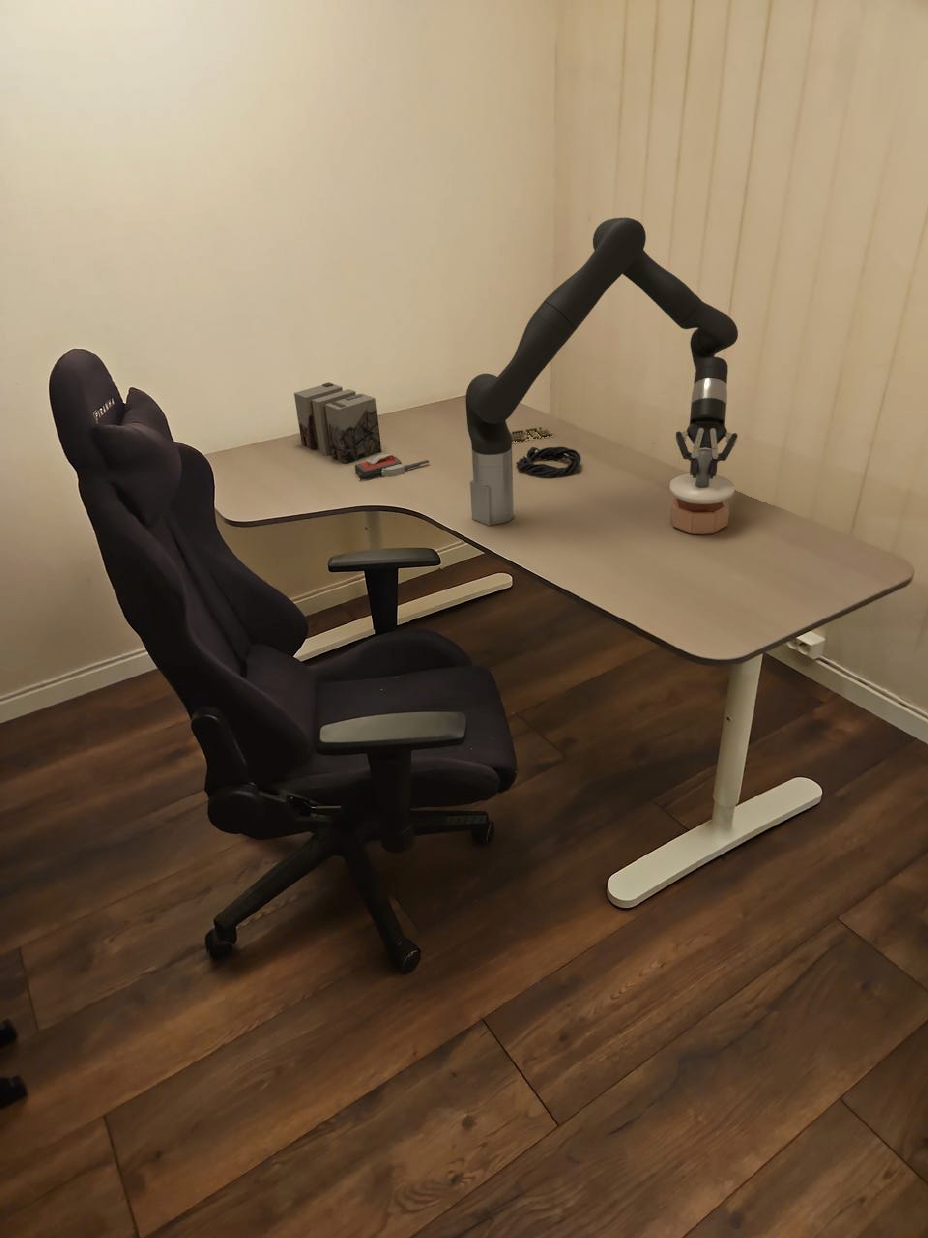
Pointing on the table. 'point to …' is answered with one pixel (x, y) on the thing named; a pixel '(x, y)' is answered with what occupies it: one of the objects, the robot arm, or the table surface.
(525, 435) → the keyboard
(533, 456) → the cable
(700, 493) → the lid
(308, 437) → the bookend
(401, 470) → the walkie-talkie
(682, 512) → the bowl
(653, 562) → the table surface
